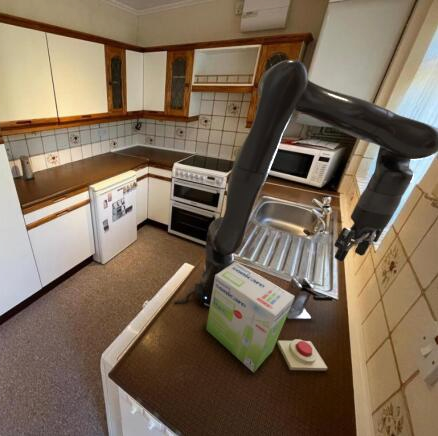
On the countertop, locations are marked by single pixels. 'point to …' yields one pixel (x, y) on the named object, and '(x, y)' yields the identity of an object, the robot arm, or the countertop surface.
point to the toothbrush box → (247, 313)
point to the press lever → (314, 293)
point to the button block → (299, 361)
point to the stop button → (304, 348)
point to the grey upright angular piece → (299, 299)
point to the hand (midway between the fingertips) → (348, 256)
